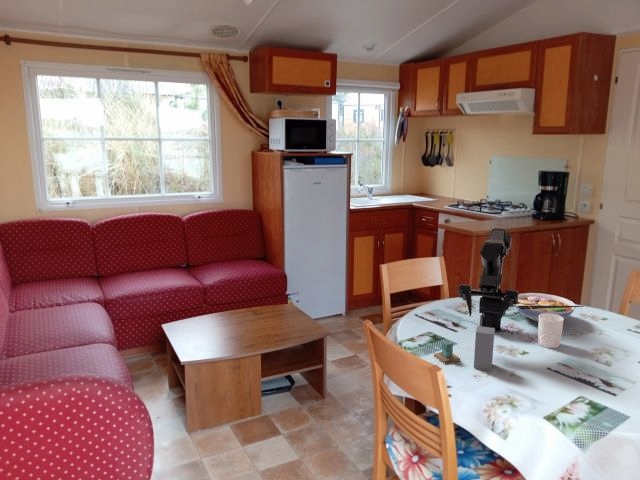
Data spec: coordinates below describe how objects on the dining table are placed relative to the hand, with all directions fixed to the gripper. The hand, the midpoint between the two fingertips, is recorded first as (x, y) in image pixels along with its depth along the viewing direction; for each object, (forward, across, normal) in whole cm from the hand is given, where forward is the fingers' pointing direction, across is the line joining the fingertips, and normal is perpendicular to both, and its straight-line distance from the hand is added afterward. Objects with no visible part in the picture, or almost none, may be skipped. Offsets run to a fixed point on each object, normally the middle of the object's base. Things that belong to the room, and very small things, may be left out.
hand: (484, 317), depth 164 cm
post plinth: (+14, -10, +4) cm, 18 cm away
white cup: (-2, +20, +22) cm, 30 cm away
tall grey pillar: (+15, +1, +3) cm, 15 cm away
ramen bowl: (-18, +17, +40) cm, 48 cm away
